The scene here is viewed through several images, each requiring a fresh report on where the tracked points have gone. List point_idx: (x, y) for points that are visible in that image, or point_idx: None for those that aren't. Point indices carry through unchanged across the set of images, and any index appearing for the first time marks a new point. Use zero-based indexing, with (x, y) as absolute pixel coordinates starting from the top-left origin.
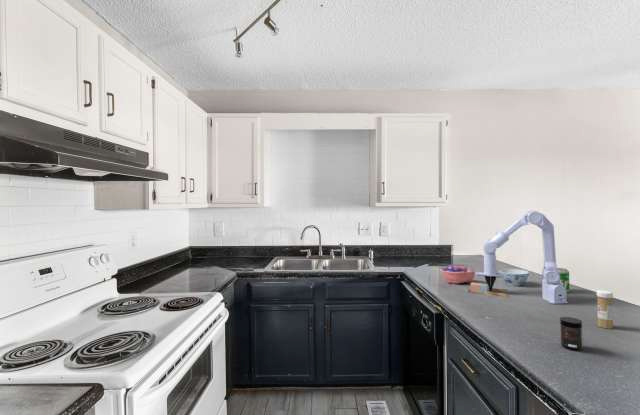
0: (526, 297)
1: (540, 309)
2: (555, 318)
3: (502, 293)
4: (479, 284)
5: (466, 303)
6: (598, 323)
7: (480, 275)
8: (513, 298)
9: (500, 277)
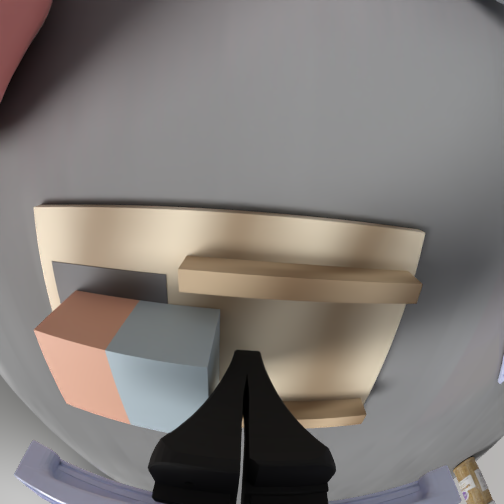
0: (474, 325)
1: (416, 453)
2: (404, 481)
3: (331, 421)
4: (126, 403)
5: (148, 473)
6: (455, 472)
7: (101, 490)
8: (391, 383)
9: (373, 501)
